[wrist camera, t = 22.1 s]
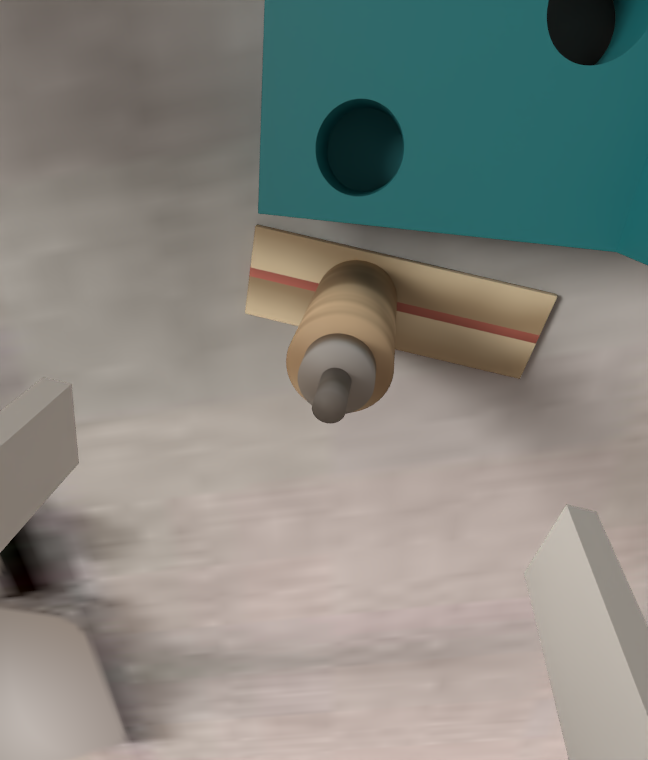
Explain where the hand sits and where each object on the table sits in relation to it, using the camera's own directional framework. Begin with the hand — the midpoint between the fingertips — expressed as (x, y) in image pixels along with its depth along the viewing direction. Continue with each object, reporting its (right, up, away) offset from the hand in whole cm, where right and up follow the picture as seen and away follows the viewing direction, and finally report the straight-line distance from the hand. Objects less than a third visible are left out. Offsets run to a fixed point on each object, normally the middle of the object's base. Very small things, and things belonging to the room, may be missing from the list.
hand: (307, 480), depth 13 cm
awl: (+2, +7, +14) cm, 16 cm away
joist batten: (+4, +7, +14) cm, 16 cm away
